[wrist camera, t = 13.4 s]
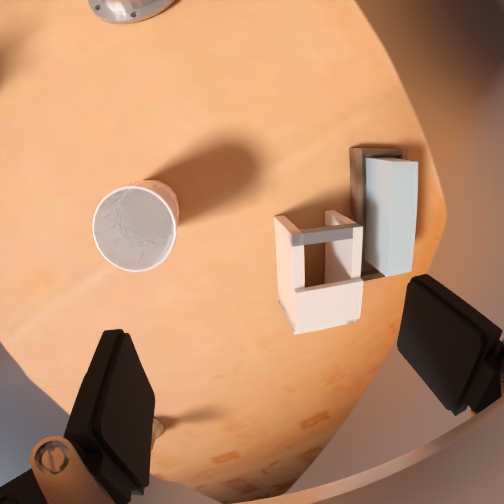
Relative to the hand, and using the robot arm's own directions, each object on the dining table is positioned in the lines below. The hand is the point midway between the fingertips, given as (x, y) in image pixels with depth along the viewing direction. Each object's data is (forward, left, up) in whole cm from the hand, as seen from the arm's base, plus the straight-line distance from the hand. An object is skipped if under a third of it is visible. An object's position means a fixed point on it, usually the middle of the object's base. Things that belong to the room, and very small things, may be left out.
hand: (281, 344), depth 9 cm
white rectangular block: (+3, +20, -27) cm, 34 cm away
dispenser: (+9, +10, -28) cm, 31 cm away
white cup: (0, -9, -28) cm, 29 cm away
